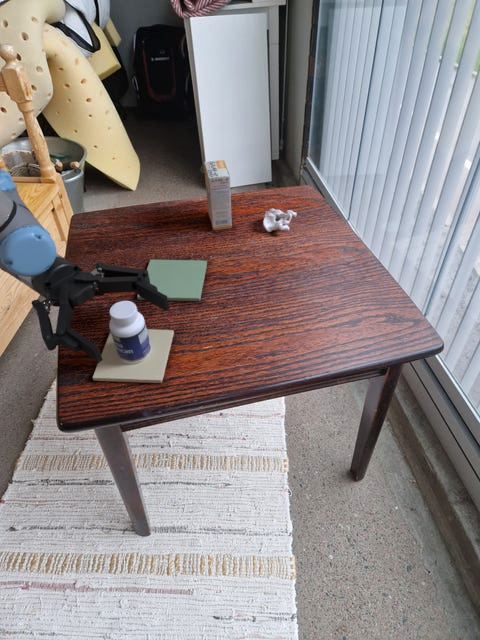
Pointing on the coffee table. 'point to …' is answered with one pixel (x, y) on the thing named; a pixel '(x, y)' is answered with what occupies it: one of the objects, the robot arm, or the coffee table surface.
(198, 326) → the coffee table surface
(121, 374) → the cream mat
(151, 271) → the sage mat
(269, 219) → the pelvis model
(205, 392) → the coffee table surface
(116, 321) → the pill bottle
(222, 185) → the supplement box
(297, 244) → the coffee table surface
